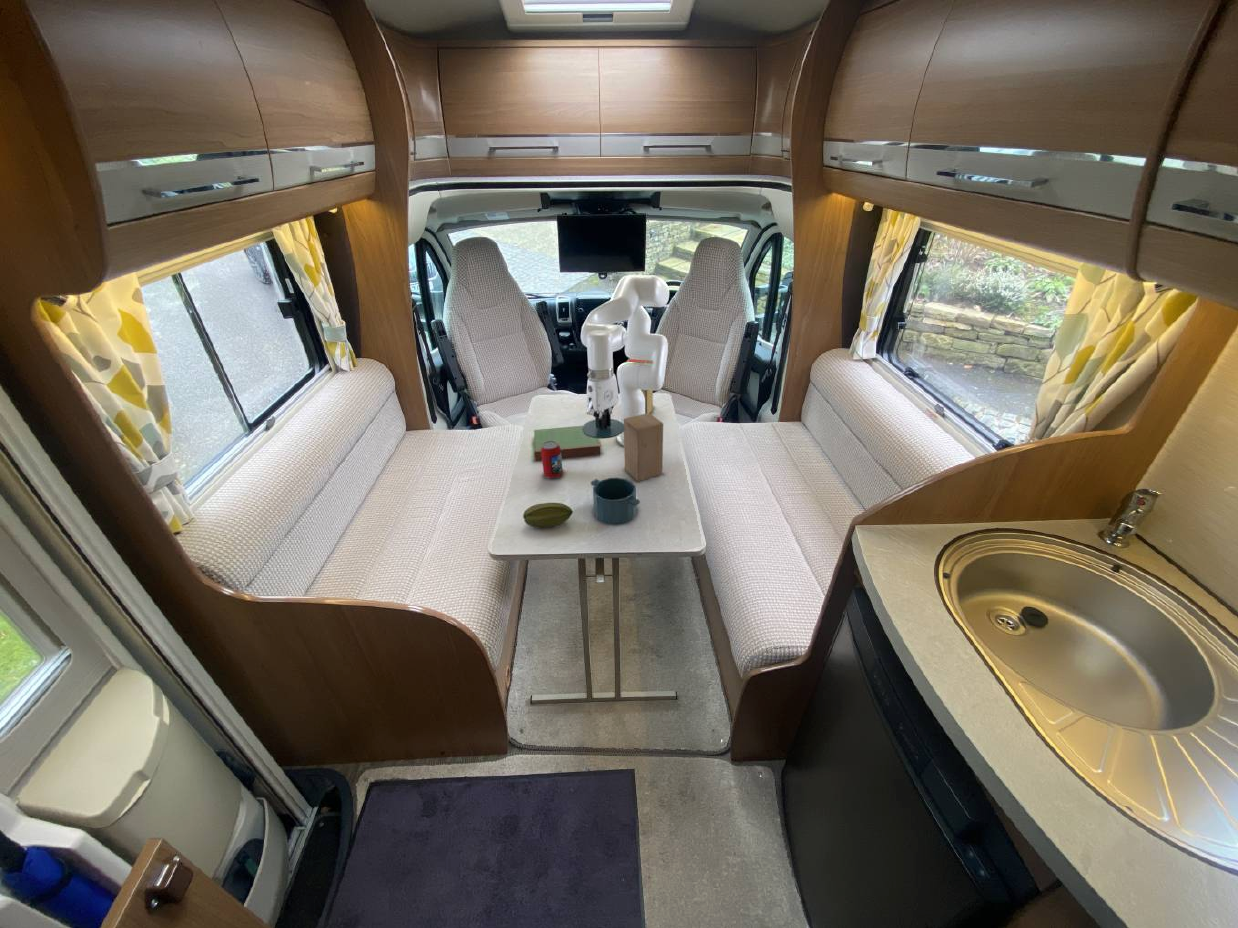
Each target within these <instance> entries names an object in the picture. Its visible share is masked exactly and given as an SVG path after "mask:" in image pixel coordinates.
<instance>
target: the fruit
mask: <svg viewBox="0 0 1238 928" xmlns="http://www.w3.org/2000/svg"><path fill="white" fill-rule="evenodd" d="M573 513H574V510H573V509H572V508H571V507H570V506H569V505H567V504H565V503H562V502H544V503H542V502H541V503H537V504H533V505H531V506H530V507H528V508H527V509H526V510H525V511H524V512H523V515H522V518H523V519H524V523H525V524H526V525H528V526H530V527H532V528H538V529H539V528H541V529H542V528H552V527H555V526H558V525H561V524H563V523H565V522H566V521H568V519H570V518H571V516H572V514H573Z"/></svg>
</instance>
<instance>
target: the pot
mask: <svg viewBox="0 0 1238 928" xmlns="http://www.w3.org/2000/svg"><path fill="white" fill-rule="evenodd" d="M590 485H591V486H593V488H592V495H593V513H594V516H595V518H596V519H597V520H599V522H601V523H604V524H607V525H608V524H609V525H620V524H626V523H628V522H629V521H631V520H633V519H634V518H635V516H636V514H637V506H638V505H639V504H640V503H641V501H640V499H638V498H637V486H636V484H634V483H633V481H631V480H629V479H627V478H622V477H609V478H604V479H601V480H599V479H597V478H596V479H594V480H592V481H590Z"/></svg>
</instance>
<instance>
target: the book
mask: <svg viewBox="0 0 1238 928" xmlns="http://www.w3.org/2000/svg"><path fill="white" fill-rule="evenodd" d="M582 427H583V425H575V426H562V427H551V428H542V429H541V428H540V429H534V430H533V439H534V441H533V442H534V444H533V445H534V446H533V447H534V448H533V449H534V458H535V462H538V461H539V462H541V461H542V454H541V448H542V446H543V443H545V442H548V441H555V442H557V443H558V445H559V446H560V448H561V457H562V459H570V458H571V459H572V458H581V457H590V456H600V455H601V447H602V442H600V440H599V438H592V437H589V436H587V435H585V434H584V433H583V431H582Z"/></svg>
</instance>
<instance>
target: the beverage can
mask: <svg viewBox="0 0 1238 928" xmlns="http://www.w3.org/2000/svg"><path fill="white" fill-rule="evenodd" d="M541 454H542V460H541V461H542V463H541V464H542V470H543V475H544V476H545V477H546V478H549V479H557V478H558V477H561V476H562V475H563V472H564V469H563V458H562V457H561V448H560V446H559V445H558V443H557V442H555V441H548V442H545V443H543V446H542V448H541Z"/></svg>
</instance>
